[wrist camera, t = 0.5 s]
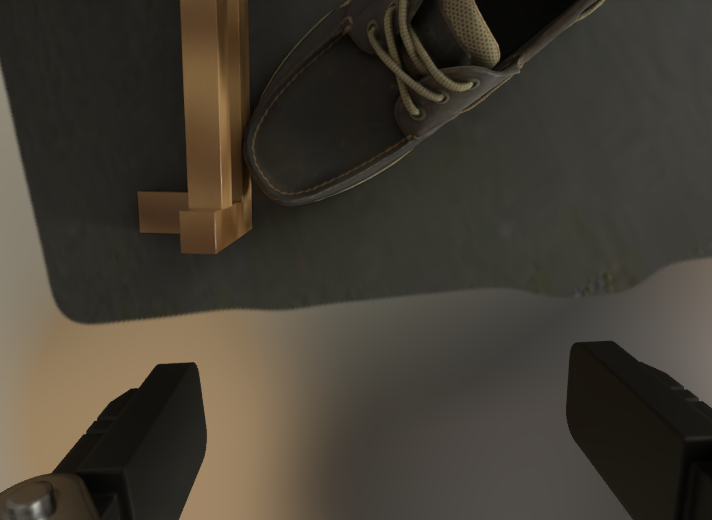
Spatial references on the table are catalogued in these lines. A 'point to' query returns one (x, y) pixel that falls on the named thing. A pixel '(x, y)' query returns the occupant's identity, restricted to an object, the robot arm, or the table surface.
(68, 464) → the robot arm
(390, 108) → the boat shoe
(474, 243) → the table surface
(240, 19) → the wooden display stand
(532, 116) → the table surface
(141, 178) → the table surface
